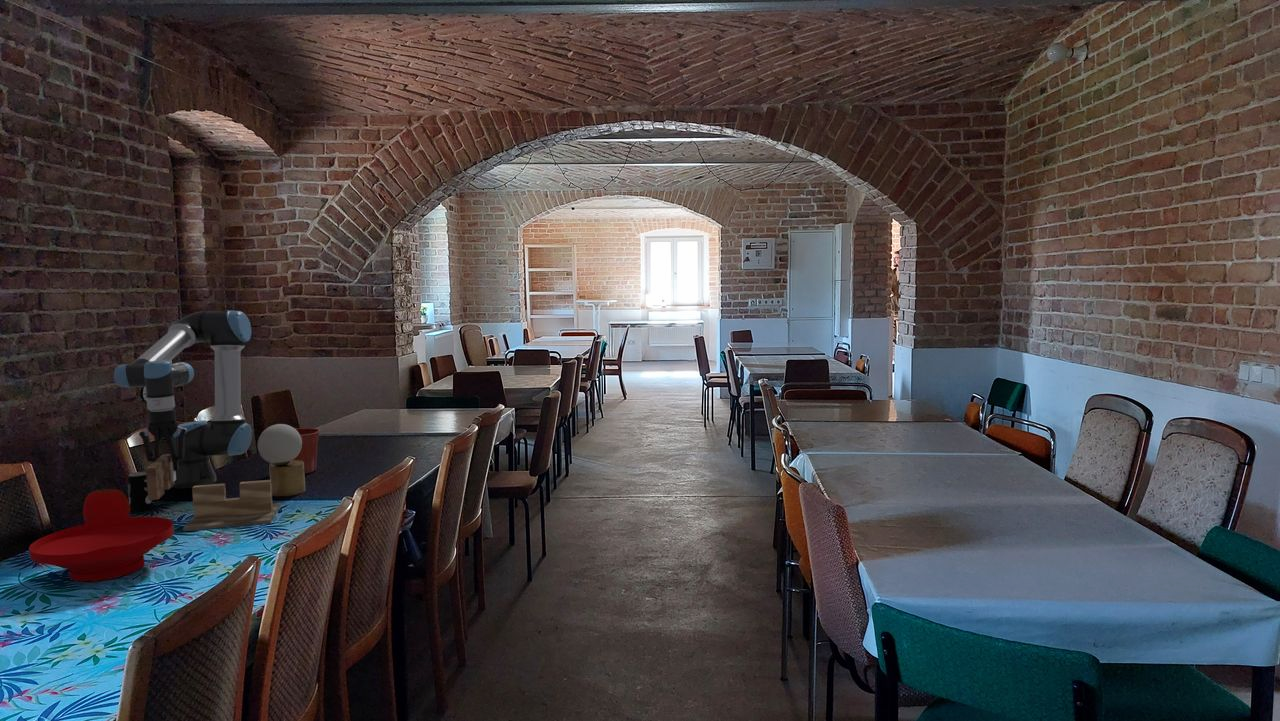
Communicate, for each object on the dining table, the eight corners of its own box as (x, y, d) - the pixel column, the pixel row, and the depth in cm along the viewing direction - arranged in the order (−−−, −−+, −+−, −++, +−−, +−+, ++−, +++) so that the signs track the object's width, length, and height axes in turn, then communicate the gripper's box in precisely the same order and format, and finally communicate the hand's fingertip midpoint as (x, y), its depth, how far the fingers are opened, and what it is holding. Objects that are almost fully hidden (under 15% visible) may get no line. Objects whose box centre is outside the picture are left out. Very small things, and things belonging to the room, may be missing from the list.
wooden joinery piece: (199, 512, 251) (197, 479, 250) (280, 505, 258) (278, 473, 257) (183, 531, 232) (180, 495, 231) (270, 522, 239) (268, 488, 238)
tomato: (74, 537, 227) (70, 490, 226) (112, 526, 238) (108, 481, 236) (104, 541, 223) (100, 493, 222) (141, 529, 233) (138, 484, 232)
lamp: (283, 501, 263) (279, 428, 261) (251, 498, 268) (246, 426, 265) (315, 489, 278) (311, 421, 275) (284, 487, 282) (280, 419, 280)
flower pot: (311, 476, 298) (309, 435, 296) (269, 476, 298) (266, 436, 297) (329, 466, 314) (326, 427, 313) (289, 467, 315) (286, 428, 313)
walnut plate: (165, 484, 250) (163, 454, 249) (174, 483, 251) (171, 453, 250) (148, 500, 233) (145, 468, 232) (157, 499, 234) (155, 467, 233)
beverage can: (141, 512, 252) (138, 476, 251) (124, 511, 254) (121, 475, 253) (158, 506, 259) (155, 471, 258) (141, 505, 260) (138, 470, 259)
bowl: (202, 557, 209) (199, 521, 208) (90, 600, 180) (86, 559, 179) (120, 546, 218) (118, 512, 218) (2, 586, 190) (-2, 546, 189)
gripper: (129, 413, 240) (136, 486, 243) (186, 409, 244) (192, 482, 247) (137, 409, 247) (144, 480, 250) (192, 405, 252) (198, 476, 254)
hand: (168, 481), depth 249 cm, fingers closed on walnut plate, 2 cm apart
